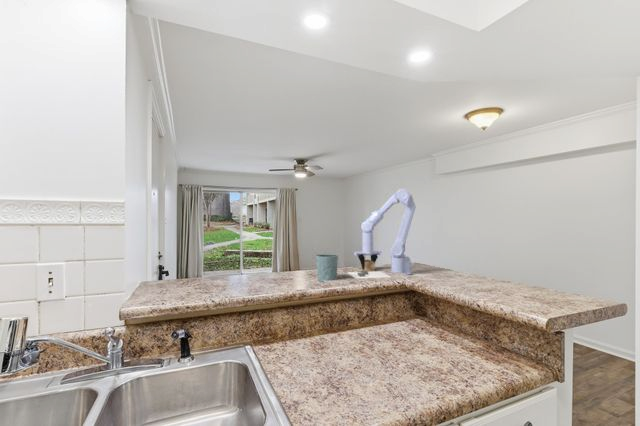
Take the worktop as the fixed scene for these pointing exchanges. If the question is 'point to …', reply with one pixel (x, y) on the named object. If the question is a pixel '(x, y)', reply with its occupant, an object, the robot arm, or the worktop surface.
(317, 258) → the teal pot
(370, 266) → the sanding block
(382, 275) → the board
